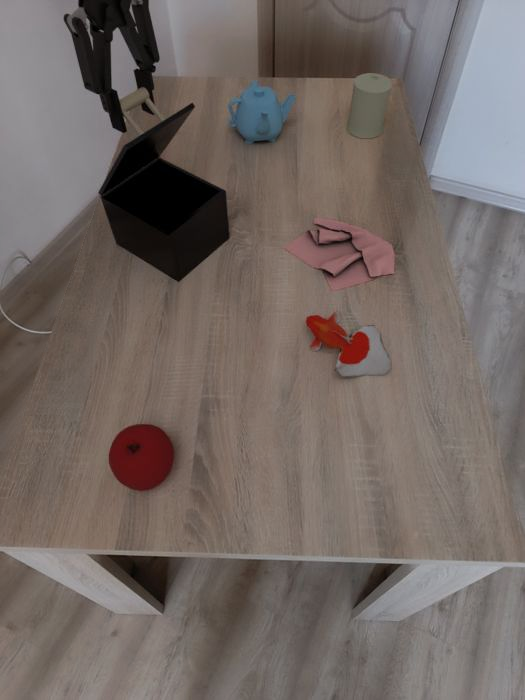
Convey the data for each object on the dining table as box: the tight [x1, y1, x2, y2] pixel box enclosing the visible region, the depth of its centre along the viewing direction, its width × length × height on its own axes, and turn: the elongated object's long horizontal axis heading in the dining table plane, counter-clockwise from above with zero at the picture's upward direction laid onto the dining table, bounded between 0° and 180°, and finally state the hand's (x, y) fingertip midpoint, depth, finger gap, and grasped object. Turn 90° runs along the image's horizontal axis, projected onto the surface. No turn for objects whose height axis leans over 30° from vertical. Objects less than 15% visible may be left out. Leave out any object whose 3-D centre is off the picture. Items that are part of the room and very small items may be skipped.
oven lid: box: [97, 87, 196, 197], centre depth 83 cm, size 18×16×7 cm
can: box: [346, 72, 393, 140], centre depth 117 cm, size 9×9×12 cm
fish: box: [305, 309, 392, 379], centre depth 79 cm, size 11×16×10 cm
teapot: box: [227, 80, 297, 145], centre depth 116 cm, size 15×14×11 cm
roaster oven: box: [100, 156, 230, 283], centre depth 94 cm, size 18×16×12 cm
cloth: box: [283, 217, 396, 292], centre depth 96 cm, size 20×22×2 cm
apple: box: [108, 423, 175, 492], centre depth 67 cm, size 9×9×10 cm
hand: (134, 120), depth 79 cm, fingers closed on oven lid, 6 cm apart
